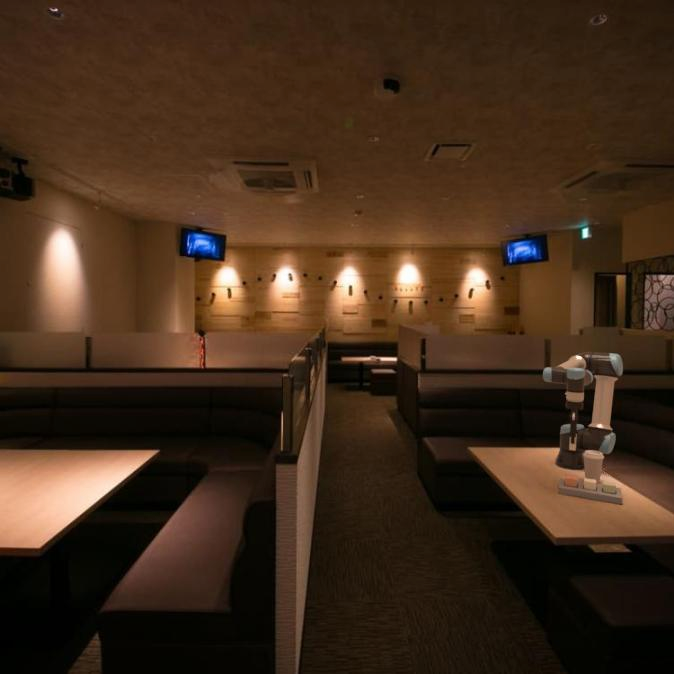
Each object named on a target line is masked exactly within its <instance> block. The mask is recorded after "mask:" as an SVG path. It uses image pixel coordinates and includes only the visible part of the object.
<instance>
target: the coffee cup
mask: <svg viewBox="0 0 674 674" xmlns="http://www.w3.org/2000/svg"><path fill="white" fill-rule="evenodd" d="M583 456H584V467H585V469H584V478H588V479H595V480H596V484H598V485H599V484H600V483H601V475H602V474H601V473H602V467H603V463H604V462H603V461H604V459H605V456H604V454H603V453H601V452H599V451H594V450H584V451H583Z"/></svg>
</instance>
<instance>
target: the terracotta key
mask: <svg viewBox="0 0 674 674" xmlns="http://www.w3.org/2000/svg"><path fill="white" fill-rule="evenodd" d="M564 479H565V485H566V486H572V487H577V481H578V476H575V475H568V474H566V475H565V478H564Z"/></svg>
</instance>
